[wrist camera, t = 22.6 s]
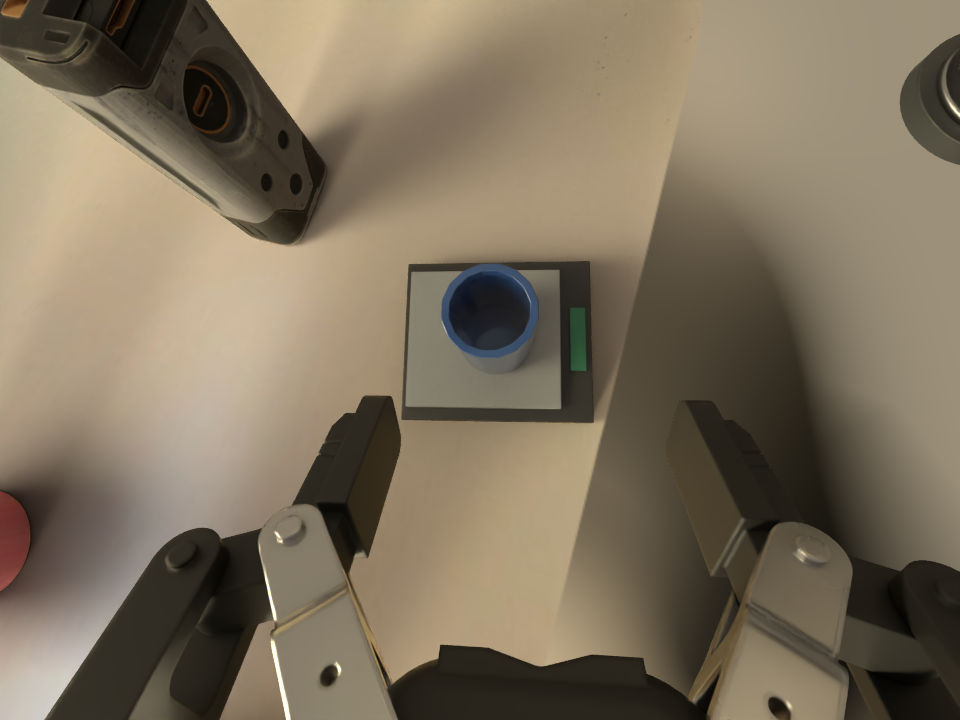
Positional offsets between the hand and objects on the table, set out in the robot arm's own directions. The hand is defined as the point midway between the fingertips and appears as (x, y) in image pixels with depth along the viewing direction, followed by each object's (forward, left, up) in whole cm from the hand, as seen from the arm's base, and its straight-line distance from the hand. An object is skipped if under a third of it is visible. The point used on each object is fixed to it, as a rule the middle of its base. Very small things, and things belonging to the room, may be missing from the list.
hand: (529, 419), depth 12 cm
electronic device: (+22, -21, -23) cm, 38 cm away
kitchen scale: (+2, -7, -23) cm, 24 cm away
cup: (+2, -7, -20) cm, 21 cm away
